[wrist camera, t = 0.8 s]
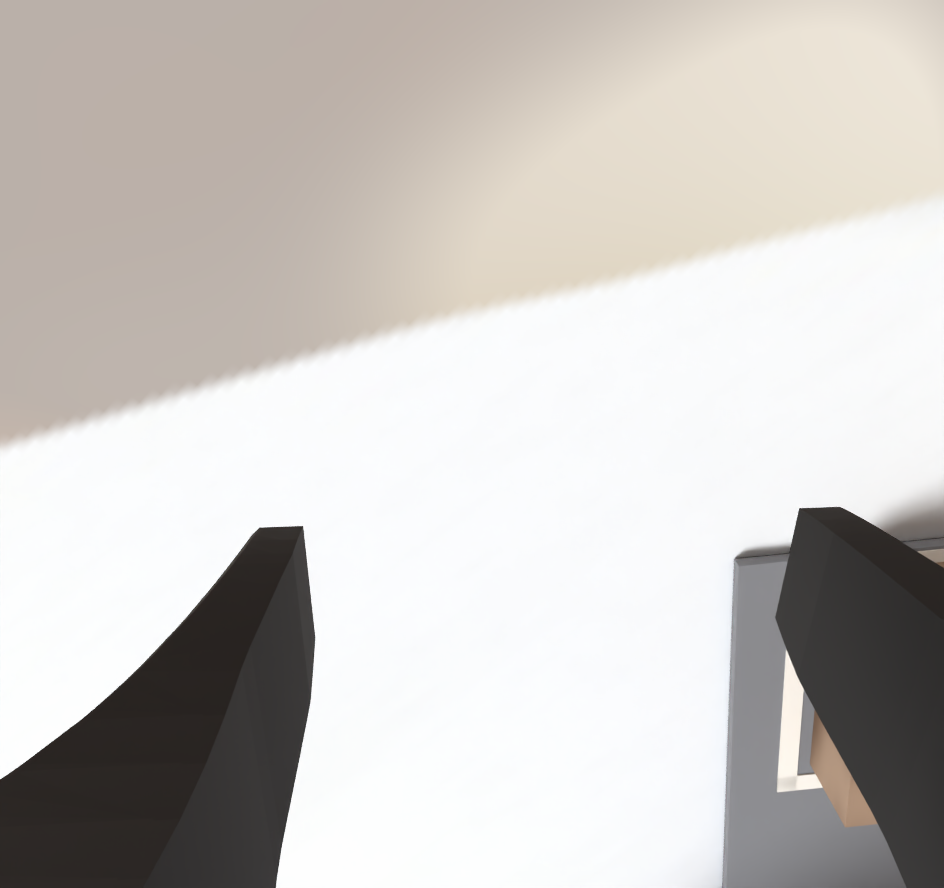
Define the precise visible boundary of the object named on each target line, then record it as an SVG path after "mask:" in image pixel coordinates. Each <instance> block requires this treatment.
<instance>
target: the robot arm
mask: <svg viewBox="0 0 944 888" xmlns="http://www.w3.org/2000/svg"><path fill="white" fill-rule="evenodd" d="M775 619H776V622H777V625H778V627H779V630H780V633H781V636H782V638H783V641H784V644H785V647H786V650H787V652H788V655H789V657H790V660H791V662H792V665H793V667H794V670H795V672H796V675H797V677H798V679H799V681H800V683H801V685H802V687H803V689H804V691H805V693H806V694H807V696H808V698H809V700H810V702H811V704H812V705H813V707H814V709H815V711H816V713H817V715H818V716H819V718H820V720H821V722H822V724H823V726H824V727H825V729H826V731H827V733H828V734H829V736H830V738H831V740H832V742H833V743H834V745H835V747H836V749H837V751H838V752H839V754H840V756H841V758H842V760H843V761H844V763H845V765H846V767H847V769H848V770H849V772H850V774H851V776H852V777H853V779H854V781H855V783H856V785H857V786H858V788H859V790H860V792H861V794H862V795H863V797H864V799H865V801H866V803H867V804H868V806H869V808H870V810H871V812H872V814H873V816H874V818H875V820H876V822H877V824H878V825H879V827H880V829H881V831H882V833H883V835H884V837H885V839H886V841H887V844H888V846H889V848H890V851H891V853H892V855H893V858H894V860H895V862H896V864H897V867H898V869H899V871H900V874H901V876H902V878H903V881H904V883H905V885H906V888H944V568H943V567H942V566H940V565H938V564H937V563H935V562H933V561H932V560H930V559H928V558H927V557H925V556H924V555H922V554H920V553H919V552H917V551H915V550H914V549H912V548H910V547H909V546H907V545H906V544H904V543H902V542H901V541H899V540H897V539H896V538H894V537H892V536H891V535H889V534H888V533H886V532H884V531H883V530H881V529H879V528H877V527H876V526H874V525H872V524H871V523H869V522H867V521H866V520H864V519H862V518H860V517H858V516H857V515H855V514H853V513H851V512H849V511H847V510H845V509H843V508H841V507H826V508H799V512H798V517H797V521H796V526H795V530H794V535H793V539H792V544H791V548H790V553H789V557H788V562H787V566H786V571H785V575H784V580H783V584H782V589H781V594H780V598H779V603H778V607H777V612H776V616H775ZM314 648H315V632H314V623H313V614H312V604H311V595H310V586H309V577H308V568H307V559H306V549H305V540H304V531H303V526H295V527H267V528H259V529H258V530H257V531H256V532H255V533H254V534H253V535H252V536H251V537H250V539H249V540H248V541H247V543H246V544H245V545H244V547H243V548H242V549H241V551H240V552H239V553H238V555H237V556H236V557H235V559H234V560H233V561H232V562H231V564H230V565H229V566H228V568H227V569H226V570H225V571H224V573H223V574H222V575H221V577H220V578H219V579H218V580H217V582H216V583H215V584H214V585H213V587H212V588H211V589H210V590H209V591H208V593H207V594H206V595H205V596H204V597H203V598H202V600H201V601H200V602H199V603H198V604H197V606H196V607H195V608H194V609H193V610H192V611H191V613H190V614H189V615H188V616H187V617H186V619H185V620H184V621H183V622H182V623H181V624H180V625H179V626H178V628H177V629H176V630H175V631H174V632H173V633H172V634H171V635H170V636H169V637H168V638H167V639H166V640H165V641H164V642H163V643H162V644H161V645H160V646H159V648H158V649H157V650H156V651H155V652H154V653H153V654H152V655H151V656H150V657H149V658H148V659H147V660H146V661H145V662H144V663H143V664H142V665H141V666H140V667H139V668H138V669H137V670H136V671H135V672H134V673H133V674H132V675H131V676H130V677H129V678H128V679H127V680H126V681H125V682H124V683H123V684H122V685H120V686H119V687H118V688H117V689H116V690H115V691H114V692H113V693H112V694H111V695H110V696H108V697H107V698H106V699H105V700H104V701H103V702H102V703H100V704H99V705H98V706H97V707H96V708H95V709H94V710H92V711H91V712H90V713H89V714H88V715H86V716H85V717H84V718H83V719H82V720H80V721H79V722H78V723H76V724H75V725H74V726H72V727H71V728H70V729H68V730H67V731H66V732H64V733H63V734H62V735H60V736H59V737H58V738H57V739H55V740H54V741H53V742H51V743H50V744H49V745H47V746H46V747H45V748H43V749H42V750H41V751H39V752H38V753H37V754H35V755H34V756H33V757H31V758H30V759H29V760H27V761H26V762H25V763H24V764H22V765H21V766H19V767H18V768H16V769H15V770H14V771H12V772H11V773H9V774H8V775H6V776H5V777H3V778H2V779H0V888H276V880H277V873H278V867H279V860H280V854H281V847H282V842H283V837H284V832H285V827H286V822H287V817H288V812H289V807H290V802H291V797H292V792H293V787H294V782H295V777H296V772H297V767H298V762H299V757H300V752H301V747H302V742H303V737H304V732H305V727H306V722H307V717H308V711H309V706H310V700H311V688H312V676H313V662H314Z"/></svg>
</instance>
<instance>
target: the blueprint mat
mask: <svg viewBox="0 0 944 888" xmlns="http://www.w3.org/2000/svg"><path fill="white" fill-rule="evenodd" d="M902 543H904V544H906V545H907V546H909V547H910V548H912V549H914V550H915V551H917V552H919V553H920V554H922V555H924V556H925V557H927V558H928V559H930V560H932V561H933V562H935V563H937V562H944V538H938V539H928V540H918V541H908V542H902ZM788 557H789V554H779V555H769V556H759V557H749V558H739V559H734V578H733V606H732V633H731V661H730V689H729V716H728V744H727V772H726V799H725V827H724V854H723V882H722V888H906V885H905V883H904V881H903V878H902V876H901V874H900V871H899V869H898V867H897V864H896V862H895V860H894V858H893V855H892V853H891V851H890V848H889V846H888V844H887V841H886V839H885V837H884V835H883V833H882V831H881V829H880V827H879V825H878V824H873V825H864V826H854V827H845V826H844V825H843V823H842V821H841V819H840V817H839V816H838V814H837V812H836V810H835V808H834V807H833V805H832V803H831V801H830V799H829V798H828V796H827V794H826V792H825V790H824V789H823V787H822V785H821V783H820V781H819V780H818V778H817V776H816V774H815V772H814V771H813V769H812V767H811V765H810V755H811V744H812V733H813V722H814V711H815V709H814V707H813V705H812V704H811V702H810V700H809V698H808V696H807V694H806V693H805V691H804V689H803V687H802V685H801V683H800V681H799V679H798V677H797V675H796V672H795V670H794V667H793V665H792V662H791V660H790V657H789V655H788V652H787V650H786V647H785V644H784V641H783V638H782V636H781V633H780V630H779V627H778V625H777V622H776V619H775V616H776V612H777V607H778V603H779V598H780V594H781V589H782V584H783V580H784V575H785V571H786V566H787V562H788Z"/></svg>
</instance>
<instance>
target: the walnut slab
mask: <svg viewBox="0 0 944 888" xmlns="http://www.w3.org/2000/svg"><path fill="white" fill-rule="evenodd" d="M937 564H938V565H940V566H942V567H943V568H944V562H937ZM810 765H811V767H812V769H813V771H814V772H815V774H816V776H817V778H818V780H819V781H820V783H821V785H822V787H823V789H824V790H825V792H826V794H827V796H828V798H829V799H830V801H831V803H832V805H833V807H834V808H835V810H836V812H837V814H838V816H839V817H840V819H841V821H842V823H843V825H844V826H845V827H854V826H864V825H873V824H877V822H876V820H875V818H874V816H873V814H872V812H871V810H870V808H869V806H868V804H867V803H866V801H865V799H864V797H863V795H862V794H861V792H860V790H859V788H858V786H857V785H856V783H855V781H854V779H853V777H852V776H851V774H850V772H849V770H848V769H847V767H846V765H845V763H844V761H843V760H842V758H841V756H840V754H839V752H838V751H837V749H836V747H835V745H834V743H833V742H832V740H831V738H830V736H829V734H828V733H827V731H826V729H825V727H824V726H823V724H822V722H821V720H820V718H819V716H818V715H817V713H816V711H814V722H813V733H812V744H811V755H810Z"/></svg>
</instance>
